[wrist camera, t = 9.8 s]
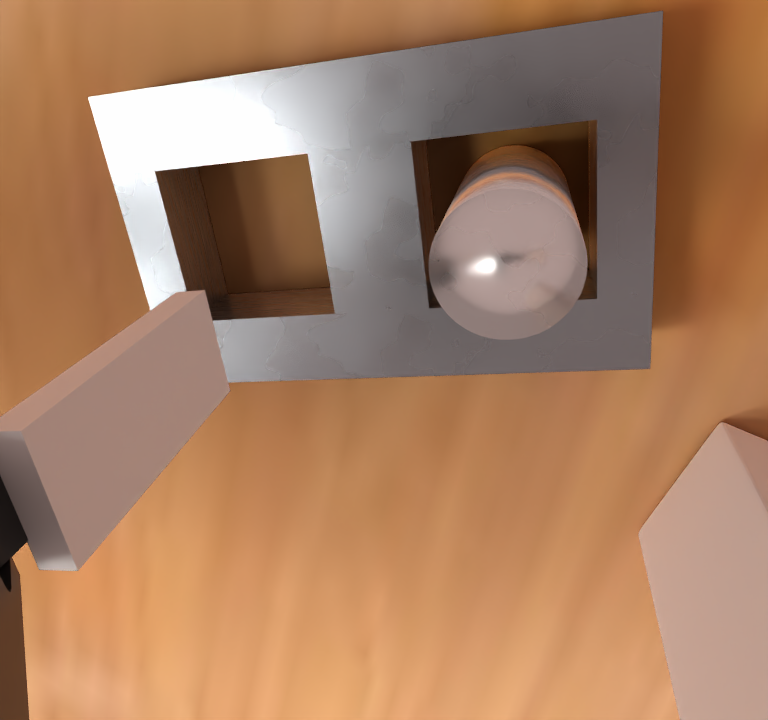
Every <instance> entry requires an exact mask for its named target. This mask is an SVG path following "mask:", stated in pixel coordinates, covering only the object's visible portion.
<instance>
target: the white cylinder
mask: <svg viewBox="0 0 768 720" xmlns="http://www.w3.org/2000/svg"><path fill="white" fill-rule="evenodd" d="M586 274H587V252H586V247H585V242H584V239H583V236H582V232H581V229H580V225H579V222H578V218H577V215H576V211H575V208H574V205H573V201H572V198H571V194H570V191H569V187H568V184H567V181H566V178H565V176H564V174H563V172H562V170H561V169H560V167H559V166H558V165H557V163H556V162H555V161H554V160H553V159H552V158H551V157H549V156H548V155H547V154H545V153H543V152H542V151H540V150H537V149H535V148H532V147H528V146H522V145H510V146H504V147H500V148H497V149H494V150H492V151H490V152H488V153H486V154H485V155H483V156H482V157H481V158H479V159H478V160H477V161H476V162H475V163H474V164H473V165H472V166H471V167H470V169H469V170H468V172H467V173H466V175H465V177H464V179H463V181H462V183H461V185H460V187H459V189H458V191H457V193H456V195H455V197H454V199H453V201H452V203H451V205H450V207H449V209H448V211H447V213H446V215H445V217H444V219H443V221H442V223H441V225H440V227H439V229H438V231H437V233H436V235H435V237H434V240H433V242H432V246H431V250H430V254H429V277H430V282H431V286H432V289H433V292H434V294H435V296H436V298H437V300H438V302H439V304H440V305H441V307H442V308H443V309H444V311H445V312H446V313H447V314H448V316H450V317H451V318H452V319H453V320H454V321H455V322H456V323H458V324H459V325H460V326H462V327H463V328H465V329H467V330H469V331H470V332H472V333H475V334H477V335H480V336H483V337H487V338H492V339H499V340H514V339H521V338H526V337H530V336H533V335H536V334H539V333H541V332H543V331H545V330H547V329H549V328H550V327H552V326H553V325H555V324H556V323H558V322H559V321H560V320H561V319H562V318H563V317H564V316H565V315H566V314H567V313H568V312H569V311H570V310H571V309H572V307H573V306H574V304H575V303H576V301H577V300H578V298H579V296H580V294H581V292H582V289H583V286H584V283H585V279H586Z"/></svg>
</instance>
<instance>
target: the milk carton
mask: <svg viewBox="0 0 768 720" xmlns="http://www.w3.org/2000/svg"><path fill="white" fill-rule="evenodd" d="M638 535H639V540H640V544H641V549H642V553H643V558H644V562H645V567H646V571H647V576H648V580H649V584H650V589H651V593H652V598H653V602H654V607H655V611H656V616H657V620H658V624H659V629H660V633H661V638H662V642H663V647H664V651H665V656H666V660H667V664H668V669H669V673H670V678H671V682H672V687H673V691H674V696H675V700H676V704H677V709H678V713H679V718H680V720H768V441H767V440H765V439H762V438H760V437H758V436H755V435H753V434H750V433H748V432H746V431H743V430H741V429H739V428H736V427H734V426H731V425H729V424H727V423H723V422H721V423H719V424H718V425H717V427H716V428H715V429H714V430H713V432H712V433H711V434H710V436H709V437H708V438H707V440H706V441H705V442H704V444H703V445H702V446H701V448H700V449H699V450H698V452H697V453H696V455H695V456H694V457H693V459H692V460H691V461H690V463H689V464H688V465H687V467H686V468H685V469H684V471H683V472H682V473H681V475H680V476H679V477H678V479H677V480H676V481H675V483H674V484H673V486H672V487H671V488H670V490H669V491H668V492H667V494H666V495H665V496H664V498H663V499H662V500H661V502H660V503H659V504H658V506H657V507H656V508H655V510H654V511H653V512H652V514H651V515H650V517H649V518H648V519H647V521H646V522H645V523H644V525H643V526H642V528H641V529H640V531H639V534H638Z"/></svg>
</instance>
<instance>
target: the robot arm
mask: <svg viewBox="0 0 768 720" xmlns="http://www.w3.org/2000/svg"><path fill="white" fill-rule="evenodd" d="M229 392H230V388H229V384H228V380H227V376H226V372H225V368H224V364H223V360H222V356H221V352H220V348H219V344H218V340H217V336H216V332H215V328H214V325H213V321H212V317H211V313H210V309H209V305H208V301H207V297H206V293H205V290H200V291H186V292H176V293H174V294H173V295H172V296H170V297H169V298H167V299H166V300H165V301H163V302H162V303H160V304H159V305H158V306H156V307H155V308H153V309H152V310H150V311H149V312H148V313H146V314H145V315H143V316H142V317H141V318H139V319H138V320H136V321H135V322H134V323H132V324H131V325H129V326H128V327H126V328H125V329H124V330H122V331H121V332H119V333H118V334H117V335H115V336H114V337H112V338H111V339H109V340H108V341H107V342H105V343H104V344H102V345H101V346H100V347H98V348H97V349H95V350H94V351H93V352H91V353H90V354H88V355H87V356H85V357H84V358H83V359H81V360H80V361H78V362H77V363H76V364H74V365H73V366H71V367H70V368H69V369H67V370H66V371H64V372H63V373H61V374H60V375H59V376H57V377H56V378H54V379H53V380H52V381H50V382H49V383H47V384H46V385H45V386H43V387H42V388H40V389H39V390H37V391H36V392H35V393H33V394H32V395H30V396H29V397H28V398H26V399H25V400H23V401H22V402H21V403H19V404H18V405H16V406H15V407H13V408H12V409H11V410H9V411H8V412H6V413H5V414H4V415H2V416H1V417H0V720H29V710H28V694H27V679H26V663H25V647H24V632H23V616H22V601H21V585H20V574H19V572H18V570H17V568H16V565H15V563H14V561H13V559H12V556H13V555H14V554H15V553H16V552H17V551H18V550H19V549H20V548H21V547H22V546H23V545H24V544H25V543H26V542H27V543H28V545H29V547H30V550H31V552H32V554H33V557H34V559H35V561H36V563H37V566H38V568H39V570H62V571H78V570H79V569H80V568H81V567H82V566H83V564H84V563H85V562H86V561H87V560H88V559H89V557H90V556H91V555H92V554H93V553H94V551H95V550H96V549H97V548H98V547H99V546H100V544H101V543H102V542H103V541H104V540H105V538H106V537H107V536H108V535H109V534H110V533H111V531H112V530H113V529H114V528H115V527H116V525H117V524H118V523H119V522H120V521H121V520H122V518H123V517H124V516H125V515H126V514H127V512H128V511H129V510H130V509H131V508H132V507H133V505H134V504H135V503H136V502H137V501H138V499H139V498H140V497H141V496H142V495H143V493H144V492H145V491H146V490H147V489H148V488H149V486H150V485H151V484H152V483H153V482H154V480H155V479H156V478H157V477H158V476H159V475H160V473H161V472H162V471H163V470H164V469H165V467H166V466H167V465H168V464H169V463H170V462H171V460H172V459H173V458H174V457H175V456H176V454H177V453H178V452H179V451H180V450H181V449H182V447H183V446H184V445H185V444H186V443H187V441H188V440H189V439H190V438H191V437H192V436H193V434H194V433H195V432H196V431H197V430H198V428H199V427H200V426H201V425H202V424H203V423H204V421H205V420H206V419H207V418H208V417H209V415H210V414H211V413H212V412H213V411H214V410H215V408H216V407H217V406H218V405H219V404H220V402H221V401H222V400H223V399H224V398H225V397H226V395H227V394H228V393H229Z"/></svg>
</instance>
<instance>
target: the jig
mask: <svg viewBox="0 0 768 720" xmlns="http://www.w3.org/2000/svg"><path fill="white" fill-rule="evenodd" d="M662 26H663V11H658V12H651V13H645V14H638V15H631V16H625V17H618V18H611V19H605V20H598V21H591V22H585V23H578V24H571V25H565V26H558V27H551V28H545V29H538V30H531V31H525V32H518V33H511V34H505V35H498V36H491V37H485V38H478V39H472V40H465V41H458V42H452V43H445V44H438V45H432V46H425V47H418V48H412V49H405V50H398V51H392V52H385V53H378V54H372V55H365V56H358V57H352V58H345V59H338V60H332V61H325V62H318V63H312V64H305V65H298V66H292V67H285V68H279V69H272V70H265V71H259V72H252V73H245V74H239V75H232V76H225V77H219V78H212V79H205V80H199V81H192V82H185V83H179V84H172V85H165V86H159V87H152V88H145V89H139V90H132V91H125V92H119V93H112V94H105V95H99V96H92V97H88V99H89V102H90V106H91V109H92V113H93V116H94V120H95V123H96V126H97V130H98V133H99V137H100V140H101V143H102V147H103V150H104V154H105V157H106V160H107V164H108V167H109V171H110V174H111V178H112V181H113V184H114V188H115V191H116V195H117V198H118V201H119V205H120V208H121V212H122V215H123V219H124V222H125V225H126V229H127V232H128V236H129V239H130V242H131V246H132V249H133V253H134V256H135V259H136V263H137V266H138V270H139V273H140V277H141V280H142V283H143V287H144V290H145V294H146V297H147V300H148V304H149V307H150V310H152V309H153V308H155V307H156V306H158V305H159V304H160V303H162V302H163V301H165V300H166V299H167V298H169V297H170V296H172V295H173V294H174V293H176V292H186V291H200V290H205V293H206V297H207V301H208V305H209V309H210V313H211V317H212V321H213V325H214V328H215V332H216V336H217V340H218V344H219V348H220V352H221V356H222V360H223V364H224V368H225V372H226V376H227V380H228V382H259V381H290V380H321V379H352V378H382V377H413V376H444V375H475V374H506V373H537V372H568V371H598V370H629V369H650V363H651V334H652V306H653V278H654V250H655V222H656V194H657V166H658V138H659V110H660V82H661V54H662ZM581 121H589V270H587V274H586V279H585V283H584V286H583V289H582V292H581V294H580V296H579V298H578V300H577V301H576V303H575V304H574V306H573V307H572V309H571V310H570V311H569V312H568V313H567V314H566V315H565V316H564V317H563V318H562V319H561V320H560V321H559V322H558V323H556V324H555V325H553V326H552V327H550V328H549V329H547V330H545V331H543V332H541V333H539V334H536V335H533V336H530V337H526V338H521V339H514V340H499V339H492V338H487V337H483V336H480V335H477V334H475V333H472V332H470V331H469V330H467V329H465V328H463V327H462V326H460V325H459V324H458V323H456V322H455V321H454V320H453V319H452V318H451V317H450V316H448V314H447V313H446V312H445V311H444V309H443V308H442V307H441V305H440V304H439V302H438V300H437V298H436V296H435V294H434V292H433V289H432V286H431V282H430V277H429V254H430V250H431V246H432V242H433V240H434V237H435V227H434V217H433V207H432V197H431V187H430V178H429V168H428V158H427V148H426V140H427V139H436V138H445V137H453V136H462V135H470V134H479V133H487V132H496V131H504V130H513V129H522V128H530V127H539V126H547V125H556V124H564V123H573V122H581ZM299 154H308V160H309V165H310V171H311V177H312V183H313V189H314V194H315V200H316V206H317V212H318V218H319V223H320V229H321V235H322V241H323V247H324V252H325V258H326V264H327V270H328V276H329V281H330V287H326V288H311V289H296V290H281V291H266V292H251V293H236V294H228V291H227V287H226V283H225V279H224V274H223V270H222V266H221V262H220V258H219V254H218V249H217V245H216V241H215V237H214V233H213V228H212V224H211V220H210V216H209V212H208V208H207V203H206V199H205V195H204V191H203V187H202V183H201V178H200V174H199V170H198V166H205V165H214V164H222V163H231V162H239V161H248V160H256V159H265V158H273V157H282V156H291V155H299Z"/></svg>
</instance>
